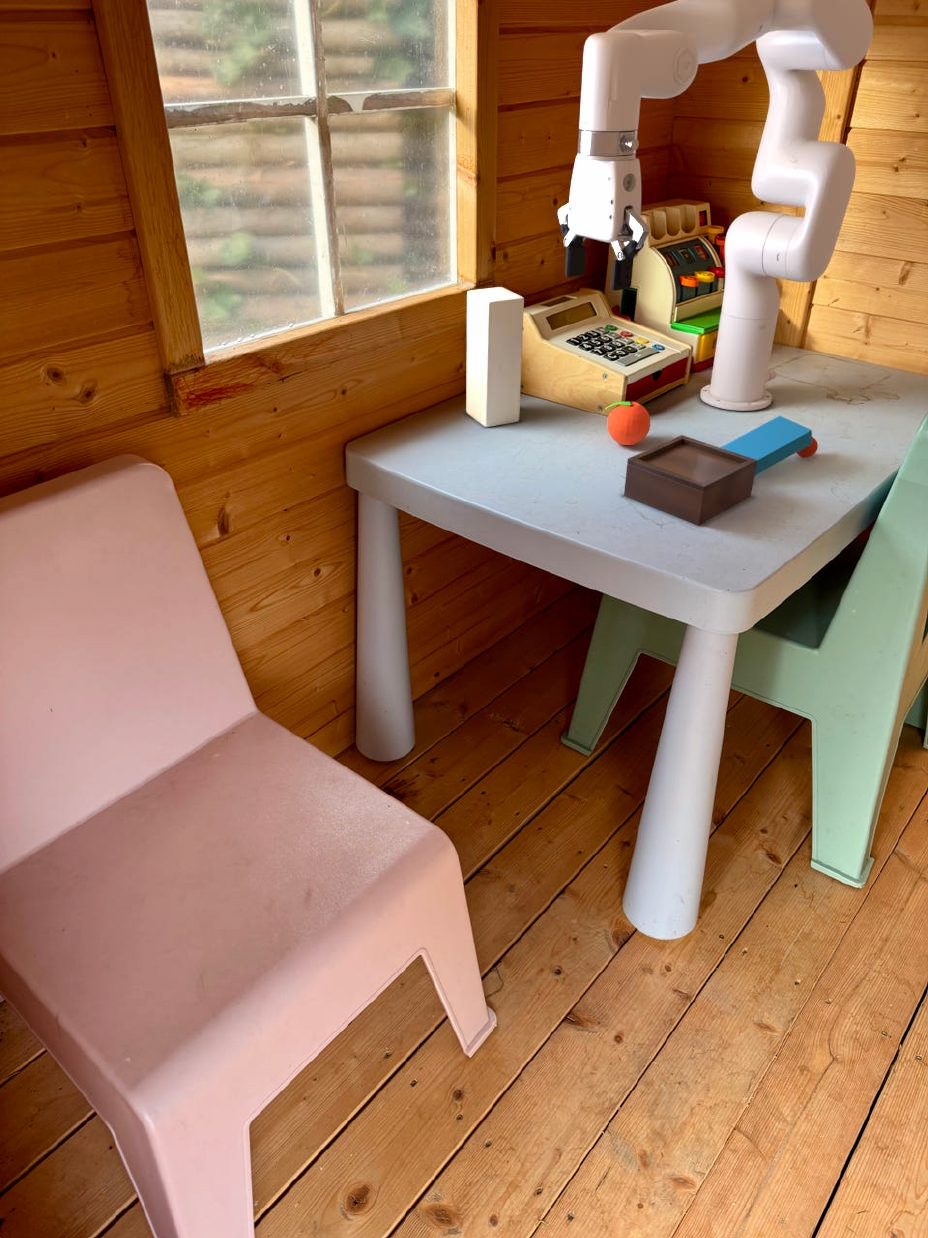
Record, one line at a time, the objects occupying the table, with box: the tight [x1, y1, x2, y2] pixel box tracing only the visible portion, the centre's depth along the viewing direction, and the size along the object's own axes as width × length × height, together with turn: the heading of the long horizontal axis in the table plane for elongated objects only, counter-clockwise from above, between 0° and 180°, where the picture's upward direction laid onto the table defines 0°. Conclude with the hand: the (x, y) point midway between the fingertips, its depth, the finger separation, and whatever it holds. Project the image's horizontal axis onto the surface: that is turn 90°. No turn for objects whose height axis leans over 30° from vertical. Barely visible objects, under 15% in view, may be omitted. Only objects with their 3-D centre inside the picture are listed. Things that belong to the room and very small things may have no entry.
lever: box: [720, 415, 819, 476], centre depth 140 cm, size 7×7×18 cm
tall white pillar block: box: [465, 286, 525, 428], centre depth 153 cm, size 8×7×21 cm
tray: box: [623, 434, 758, 526], centre depth 131 cm, size 13×13×6 cm
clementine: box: [601, 401, 651, 446], centre depth 147 cm, size 8×7×7 cm
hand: (597, 281), depth 127 cm, fingers open, 9 cm apart
